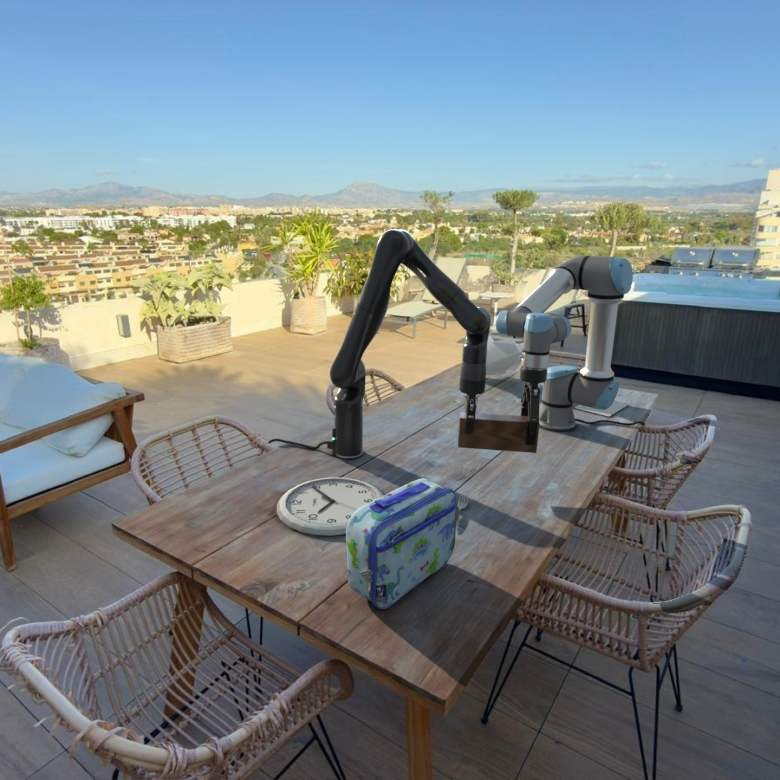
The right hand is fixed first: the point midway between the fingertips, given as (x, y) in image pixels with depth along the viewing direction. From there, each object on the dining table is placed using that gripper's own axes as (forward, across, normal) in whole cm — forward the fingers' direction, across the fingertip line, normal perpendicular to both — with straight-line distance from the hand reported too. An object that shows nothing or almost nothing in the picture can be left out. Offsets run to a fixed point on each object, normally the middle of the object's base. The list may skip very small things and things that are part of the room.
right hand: (526, 435), depth 157 cm
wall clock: (+14, +25, -54) cm, 61 cm away
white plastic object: (+13, -102, +3) cm, 102 cm away
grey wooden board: (+13, -74, +42) cm, 86 cm away
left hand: (-1, 0, -17) cm, 17 cm away
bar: (+4, 0, -9) cm, 10 cm away
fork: (+14, +25, -20) cm, 35 cm away
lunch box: (+14, +54, -32) cm, 65 cm away
